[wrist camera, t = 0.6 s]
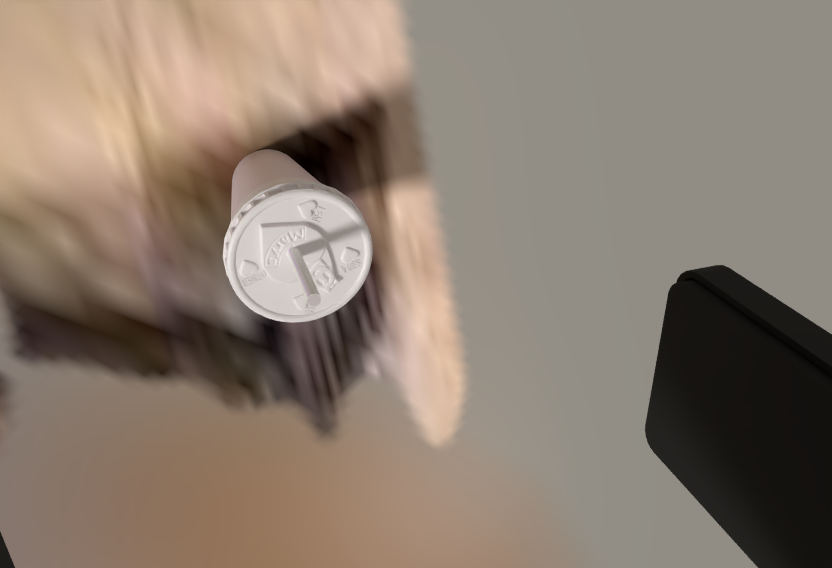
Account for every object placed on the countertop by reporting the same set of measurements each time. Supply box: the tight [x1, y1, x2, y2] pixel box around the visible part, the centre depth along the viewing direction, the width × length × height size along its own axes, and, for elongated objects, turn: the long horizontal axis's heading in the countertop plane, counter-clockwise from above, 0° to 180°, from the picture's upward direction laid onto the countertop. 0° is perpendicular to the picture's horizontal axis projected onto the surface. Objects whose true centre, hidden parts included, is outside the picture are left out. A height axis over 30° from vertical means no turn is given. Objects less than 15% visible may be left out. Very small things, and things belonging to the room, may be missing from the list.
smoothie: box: [223, 149, 372, 322], centre depth 33 cm, size 6×6×14 cm
